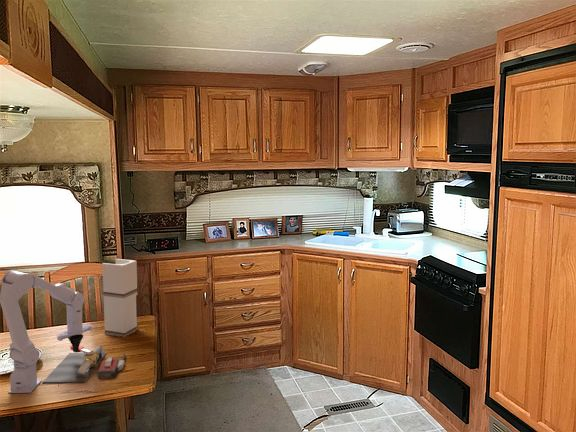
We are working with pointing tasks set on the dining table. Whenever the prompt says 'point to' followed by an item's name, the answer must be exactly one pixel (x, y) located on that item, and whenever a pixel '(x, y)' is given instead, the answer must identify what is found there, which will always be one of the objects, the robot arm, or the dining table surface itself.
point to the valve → (89, 362)
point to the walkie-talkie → (110, 367)
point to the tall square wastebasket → (120, 297)
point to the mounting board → (69, 369)
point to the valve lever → (83, 350)
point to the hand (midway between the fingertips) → (75, 351)
